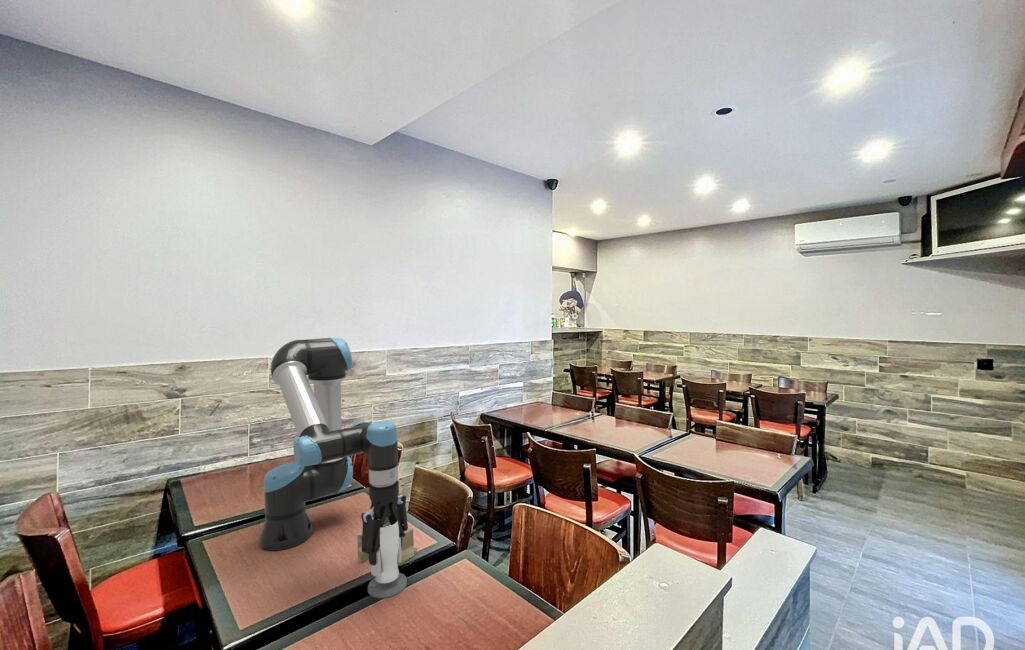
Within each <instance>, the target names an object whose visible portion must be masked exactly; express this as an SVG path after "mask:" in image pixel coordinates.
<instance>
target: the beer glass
mask: <svg viewBox="0 0 1025 650" xmlns="http://www.w3.org/2000/svg"><path fill="white" fill-rule="evenodd" d="M378 520H380V519H378ZM396 520H397V521H396V522H395V523H394V524H392V525H391V524H390V521H389V519H388V517H387V518H386V519H385V523H384V524H383V526H382V527H380V534H379V545H378V551H380V562H381V576H380V577H376V576H374V578H375V580H376V582H378V583H380V584H387V583H391V582H393V581H395V580H396V579H397V578H398V576H399V573H400V570H399V567H398V566H397V556H398V549H399V524H398V518H396Z"/></svg>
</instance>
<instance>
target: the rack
mask: <svg viewBox="0 0 1025 650" xmlns="http://www.w3.org/2000/svg"><path fill="white" fill-rule="evenodd" d="M404 533H405V536H404V537H402V547H401V558H402V561H401V562H400V563H399V562H397V566H399V565H400V564H401V565H403V564H404V563H405V561H406V562H407V561H408V560H410V559H411V558H412V557H414V556H415V555H417V554H416V553H418V550H417V546H416V545H414V543H415V541H414V540H415V539H414V528H411V527H408V530H407V531H404ZM356 537H357V538H356V539H357V540H356V541H357V561H358V562H359V563H363V562H365V561H366V560H369V554H366V553H364V552H362V531H361V532H359V533H357V534H356ZM409 558H410V559H409ZM402 563H403V564H402ZM401 565H400V566H401ZM400 566H399V567H400Z"/></svg>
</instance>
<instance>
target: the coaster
mask: <svg viewBox="0 0 1025 650" xmlns="http://www.w3.org/2000/svg"><path fill="white" fill-rule="evenodd" d="M407 585H408V578H407V577H406V575H405V574H404V573H401V572H399V576H398V578H397V579H396V580H395V581H393V582H391V583H387V584H380V583H378V582H376V580H375V577H374V578H372V579H371V580H370V581H369V583H368V585H367V593H368V595H369V596H370V597H372V598H376V599H388V598H392V597H395V596H397V595H398V594H400V593H401V592H403V591H404V590H405V588H406V587H407Z"/></svg>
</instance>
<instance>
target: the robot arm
mask: <svg viewBox="0 0 1025 650" xmlns="http://www.w3.org/2000/svg"><path fill="white" fill-rule="evenodd" d="M352 365H353V357H352V351H351V349H350V347H349V344H348V342H347V341H346V340H344V339H343V338H339V337H322V338H310V339H295V340H292V341H288V342H287V343H285V344H283V346H281V347H280V348H279V349H278V350H277V351H276V352H275V354H274V355H273V357H272V359H271V363H270V373H271V377H272V380H273V382H274V384H275V385H277V386H279V388H280V390H281V393H282V396H283V399H284V401H285V405H286V408H287V409H288V412H289V415H290V418H291V420H292V423H293V425H294V429H295V431H296V434H297V436H298V437H297V438H296V439H295V440H294V442H293V446H292V447H293V455H294V461H290V462H285V463H282V464H280V465H277V466H275V467H273V468H271V469H270V470H269V471H268V472H267V473H266V474H265V475H264V478H263V487H262V489H263V497H264V498H263V501H264V517H265V518H264V522H263V526H262V527H261V528H262V529H261V533H260V536H259V546H260V548H261V549H263V550H266V551H283V550H286V549H289V548H290V549H291V548H293V547H296V546H298V545H301V544H302V543H304V542H305V541H307V540H308V539H309V538H310V537H312V534H313V524H312V522H311V519H310V517H309V515H308V513H307V510H306V502H308V501H311V500H313V501H314V500H315V499H318V498H322V497H325V496H330V495H333V494H337V493H339V492H343V491H345V490H347V489H348V488H349V487H350V485H351V483H352V480H353V474H354V468H353V467H354V466H353V461H352V458H351V457H352V456H355V455H360V454H365V455H367V460H368V461H367V463H368V464H367V466H368V483H369V485H368V491H369V492H368V493H369V495H368V497H369V500H370V502H371V503H370V506H369V510H368V511H366V513H365V512H362V513H361V516H360V518H361V521H362V527H361V528H362V530H361V532H362V552H364V553H366V554H369V558H368V564H369V565H370V568H371V569H370V571H371V572H370V574H371V575H372V576H374V577H375V576H376V577H380V576H381V562H380V551H378V545H379V534H380V527H382V526H383V524H384V523H385V519H386V518H387V517H388V519H389V521H390V524H391V525H392V524H394V523H395V522H396V521H397V520H396V518H398V524H399V549H398V556H397V562H399V563H400V562H401V561H402V558H401V547H402V537H404V536H405V533H404V531H407V530H408V528H409V525H408V517H407V507H406V504H407V503H406V502H407V496H406V495H402V494H400V483H399V459H398V458H399V452H398V446H399V444H398V443H399V442H398V438H399V435H398V431H397V430H398V428H397V425H396V423H395V422H393V421H387V420H386V421H383V420H382V421H377V422H373V423H371V422H367V421H359V422H355V423H354V424H353V425H352V426H350V427H346V428H342V382H343V380H344V379H345V378H346V373H347V372H348V371H350V370H351V369H352ZM307 376H308V377H307ZM309 381H310V382H311V383H312V384H313V389H312V386H311V384H310V382H309ZM378 519H380V520H378Z"/></svg>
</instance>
